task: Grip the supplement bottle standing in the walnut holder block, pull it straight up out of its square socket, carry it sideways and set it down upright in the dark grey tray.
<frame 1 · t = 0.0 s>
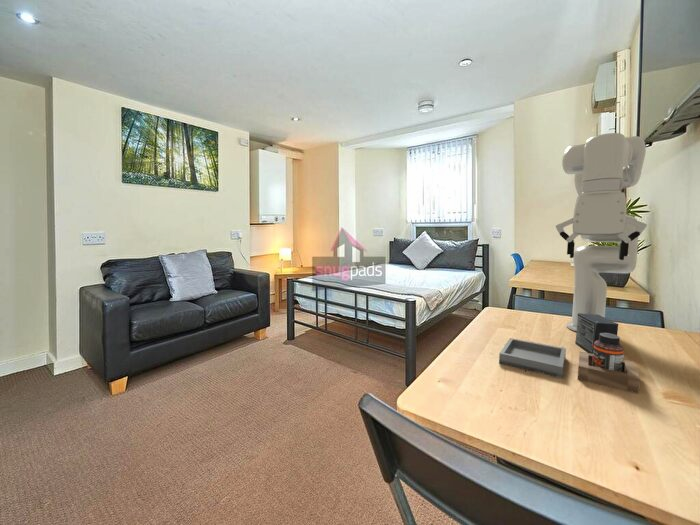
hand: (595, 258, 76), 31 cm above the table, tool pointing down, fingers open, 9 cm apart
small box: (594, 350, 96), on the table
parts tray: (532, 360, 90), on the table
supplement bottle: (605, 377, 80), resting in holder block
holder block: (605, 376, 80), on the table
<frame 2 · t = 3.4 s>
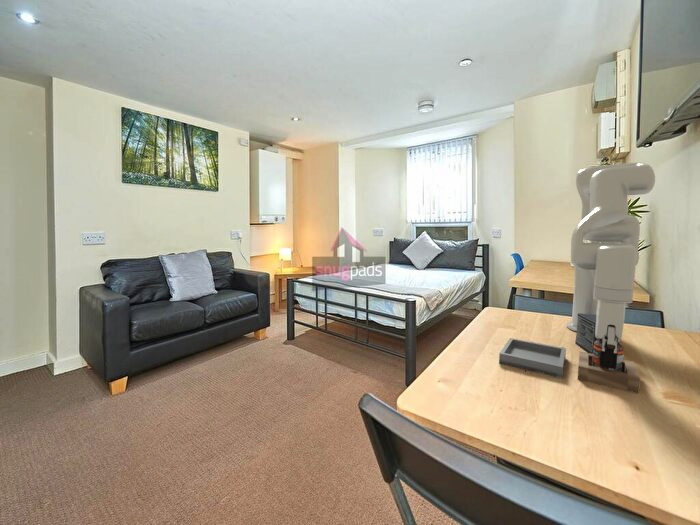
hand: (606, 361, 79), 4 cm above the table, tool pointing down, fingers closed on supplement bottle, 6 cm apart
supplement bottle: (605, 377, 80), resting in holder block, touching gripper
everything else where it was.
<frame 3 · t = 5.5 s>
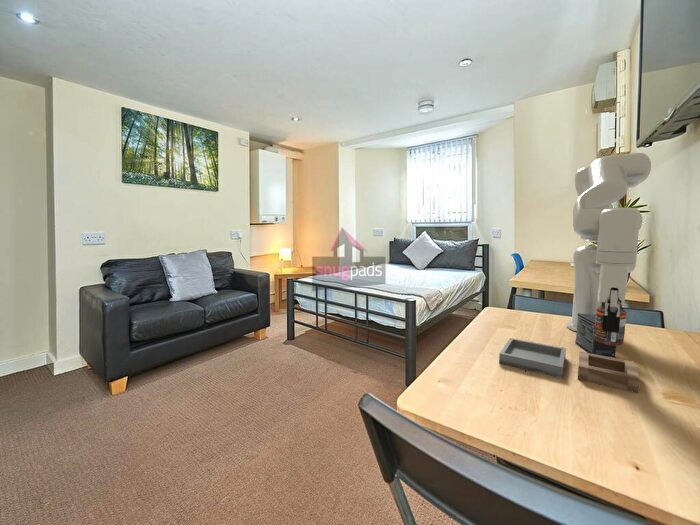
hand: (609, 326, 78), 13 cm above the table, tool pointing down, fingers closed on supplement bottle, 6 cm apart
supplement bottle: (608, 342, 79), point 9 cm above the table, touching gripper
everything else where it was.
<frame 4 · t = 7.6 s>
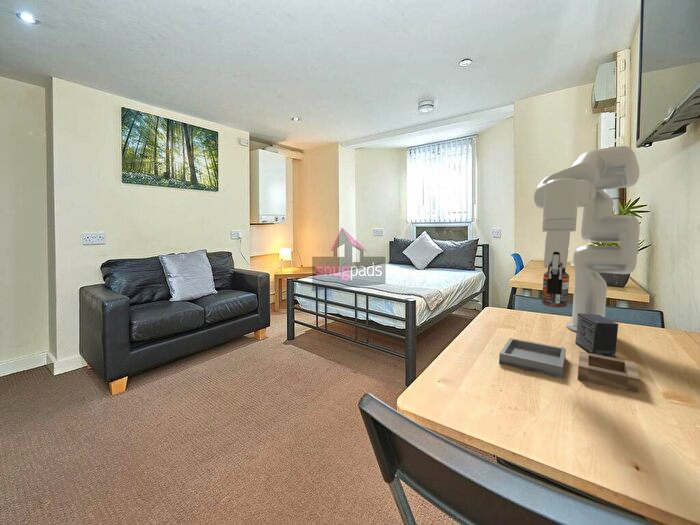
hand: (554, 290, 85), 21 cm above the table, tool pointing down, fingers closed on supplement bottle, 6 cm apart
supplement bottle: (554, 305, 85), point 17 cm above the table, touching gripper
everything else where it was.
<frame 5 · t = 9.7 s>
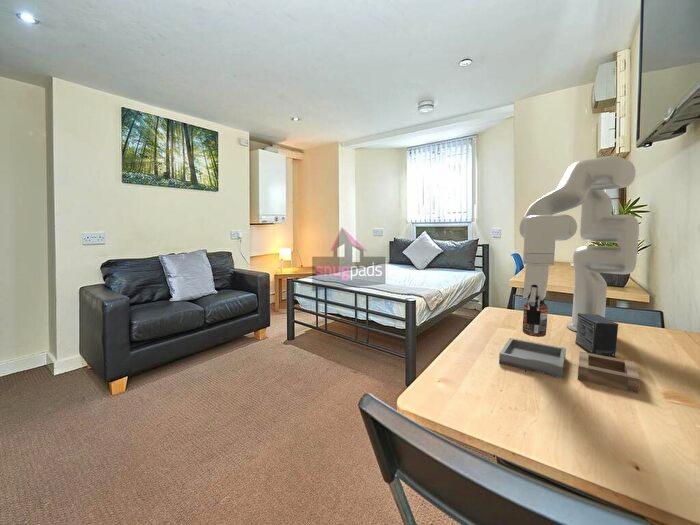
hand: (534, 320, 88), 12 cm above the table, tool pointing down, fingers closed on supplement bottle, 6 cm apart
supplement bottle: (533, 334, 89), point 8 cm above the table, touching gripper
everything else where it was.
when the fingers open (6 cm above the table, at t = 11.7 s): supplement bottle drops 1 cm, resting on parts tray.
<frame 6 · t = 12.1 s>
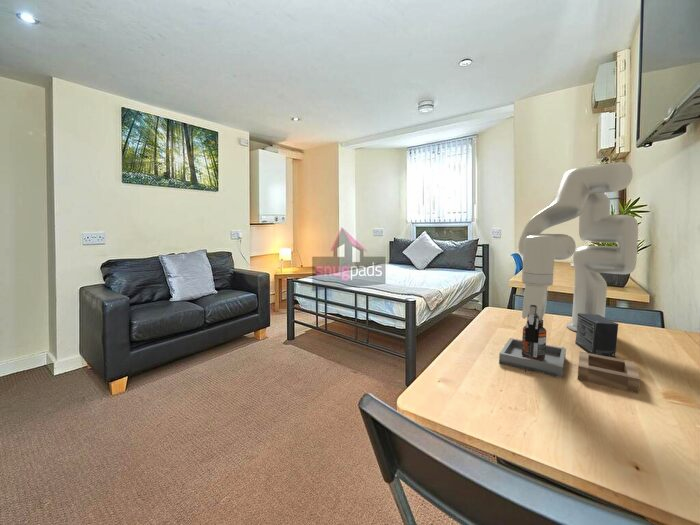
hand: (534, 336, 89), 7 cm above the table, tool pointing down, fingers open, 9 cm apart
supplement bottle: (533, 358, 90), point 1 cm above the table, touching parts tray
everything else where it was.
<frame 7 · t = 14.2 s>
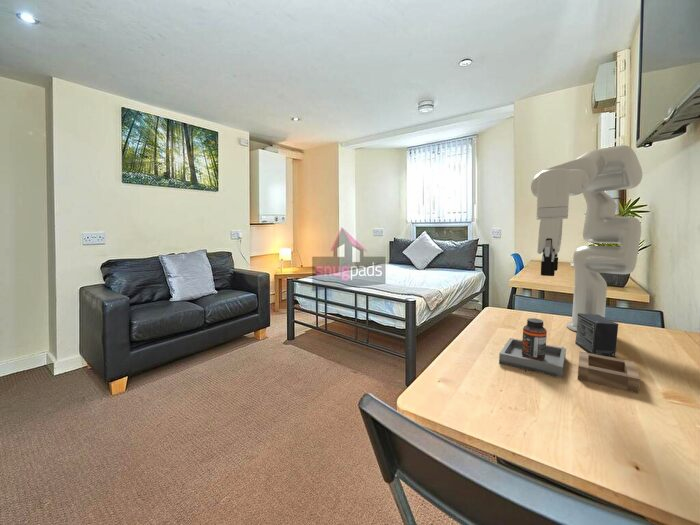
hand: (549, 272, 89), 26 cm above the table, tool pointing down, fingers open, 9 cm apart
nothing on the table moved.
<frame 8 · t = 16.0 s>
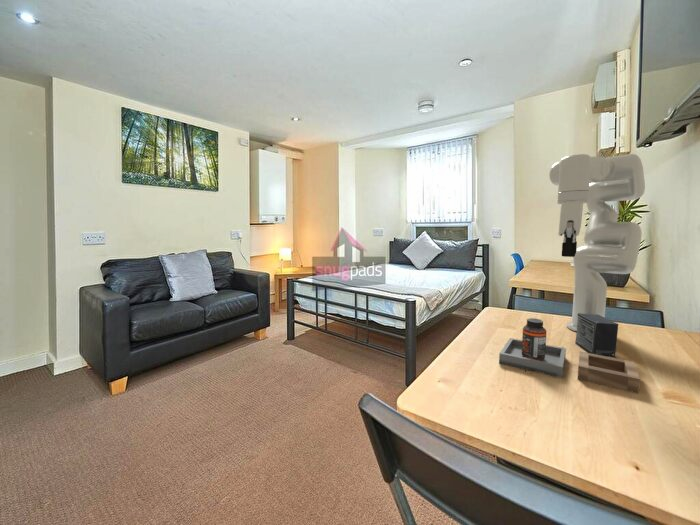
hand: (569, 255, 93), 30 cm above the table, tool pointing down, fingers open, 9 cm apart
nothing on the table moved.
at the end: supplement bottle inside the target area on the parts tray (0.0 cm from its centre), point 0.8 cm above the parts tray's base; supplement bottle tilted 0°; the gripper is holding nothing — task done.
